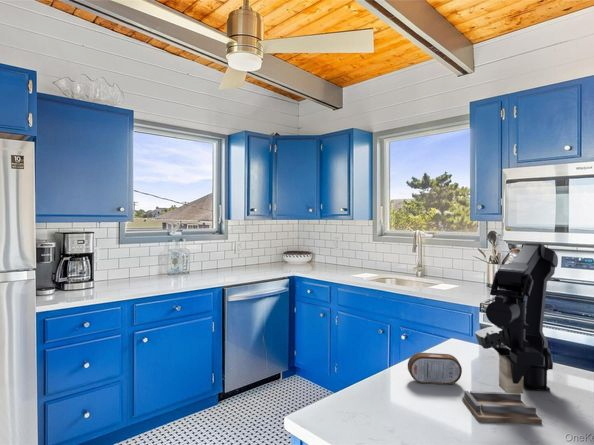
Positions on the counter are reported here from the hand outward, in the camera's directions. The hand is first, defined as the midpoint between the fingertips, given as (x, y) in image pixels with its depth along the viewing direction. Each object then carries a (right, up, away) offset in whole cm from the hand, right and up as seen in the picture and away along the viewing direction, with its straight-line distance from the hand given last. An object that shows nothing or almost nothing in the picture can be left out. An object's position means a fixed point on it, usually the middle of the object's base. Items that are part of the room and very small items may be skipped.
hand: (511, 379), depth 97 cm
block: (0, -3, 0) cm, 3 cm away
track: (-3, -8, -1) cm, 8 cm away
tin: (-14, -7, +15) cm, 22 cm away
